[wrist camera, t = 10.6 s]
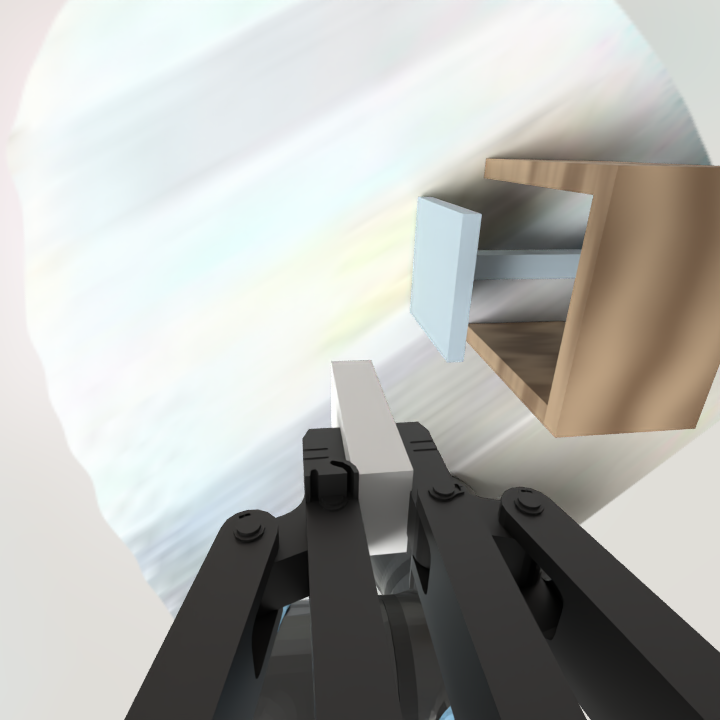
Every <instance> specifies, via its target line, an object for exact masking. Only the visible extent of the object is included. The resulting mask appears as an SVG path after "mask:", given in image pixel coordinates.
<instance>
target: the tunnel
mask: <svg viewBox="0 0 720 720" xmlns="http://www.w3.org/2000/svg"><path fill="white" fill-rule="evenodd" d="M484 178H487V179H494V180H500V181H507V182H513V183H520V184H526V185H533V186H539V187H546V188H552V189H559V190H565V191H572V192H578V193H585V194H591V195H593V200H592V204H591V209H590V214H589V218H588V223H587V227H586V232H585V236H584V241H583V246H582V250H581V255H580V259H579V264H578V269H577V273H576V278H575V282H574V287H573V291H572V296H571V301H570V305H569V310H568V314H567V319H566V323H565V322H564V321H552V322H518V323H483V324H468V329H467V337H466V341H467V342H468V343H469V344H470V345H471V347H472V348H473V349H474V350H475V351H476V352H477V353H478V354H479V355H480V356H481V357H482V359H483V360H484V361H485V362H486V363H487V364H488V365H489V366H490V367H491V368H492V369H493V371H494V372H495V373H496V374H497V375H498V376H499V377H500V378H501V379H502V380H503V381H504V383H505V384H506V385H507V386H508V387H509V388H510V389H511V390H512V391H513V392H514V393H515V395H516V396H517V397H518V398H519V399H520V400H521V401H522V402H523V403H524V404H525V405H526V407H527V408H528V409H529V410H530V411H531V412H532V413H533V414H534V415H535V416H536V417H537V419H538V420H539V421H540V422H541V423H542V424H543V425H544V426H545V427H546V428H547V429H548V431H549V432H550V433H551V434H552V435H553V436H554V437H555V438H557V437H573V436H588V435H603V434H619V433H634V432H650V431H665V430H680V429H695V427H696V425H697V422H698V420H699V417H700V414H701V412H702V409H703V406H704V404H705V401H706V399H707V396H708V393H709V391H710V388H711V385H712V383H713V380H714V377H715V375H716V372H717V370H718V367H719V364H720V166H710V165H686V164H662V163H637V162H613V161H580V160H533V159H486V165H485V174H484Z"/></svg>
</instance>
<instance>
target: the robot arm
mask: <svg viewBox="0 0 720 720" xmlns="http://www.w3.org/2000/svg"><path fill="white" fill-rule="evenodd" d="M331 425H332V428H320V429H309V430H308V431H307V433H306V434H305V436H304V437H303V466H304V490H305V495H304V499H303V501H302V503H301V504H300V505H299V506H298V507H297V508H296V509H294V510H293V511H291V512H290V513H287V514H285V515H283V516H280V517H277V518H275V517H274V516H272V515H271V514H269V513H268V512H265V511H261V510H246V511H243V512H240V513H237V514H235V515H233V516H232V517H230V518H229V519H227V520H226V522H225V523H224V524H223V526H222V527H221V528H220V530H219V532H218V534H217V536H216V538H215V540H214V542H213V544H212V546H211V548H210V550H209V552H208V554H207V556H206V558H205V560H204V562H203V564H202V566H201V568H200V570H199V572H198V574H197V576H196V578H195V580H194V582H193V584H192V586H191V588H190V590H189V592H188V594H187V596H186V598H185V600H184V602H183V604H182V606H181V608H180V610H179V612H178V614H177V616H176V618H175V620H174V622H173V624H172V626H171V628H170V630H169V632H168V634H167V636H166V638H165V640H164V642H163V644H162V646H161V648H160V650H159V652H158V654H157V656H156V658H155V660H154V662H153V664H152V666H151V668H150V670H149V672H148V674H147V676H146V678H145V680H144V682H143V684H142V686H141V688H140V690H139V692H138V694H137V696H136V698H135V700H134V702H133V704H132V706H131V708H130V710H129V712H128V714H127V715H126V718H125V719H124V720H587V719H586V717H585V715H584V713H583V711H582V709H583V710H584V711H585V713H586V714H587V715H588V717H589V718H590V719H591V720H720V652H719V651H718V650H716V649H715V648H714V647H713V646H712V645H711V644H710V643H709V642H708V641H706V640H705V639H704V638H703V637H702V636H701V635H700V634H699V633H697V631H695V630H694V629H693V628H692V627H691V626H690V625H689V624H688V623H687V622H685V621H684V620H683V619H682V618H681V617H680V616H679V615H678V614H677V613H676V612H674V611H673V610H672V609H671V608H670V607H669V606H668V605H667V604H666V603H665V602H663V601H662V600H661V599H660V598H659V597H658V596H657V595H656V594H655V593H653V592H652V591H651V590H650V589H649V588H648V587H647V586H646V585H645V584H643V583H642V582H641V581H640V580H639V579H638V578H637V577H636V576H635V575H634V574H632V573H631V572H630V571H629V570H628V569H627V568H626V567H625V566H624V565H623V564H621V563H620V562H619V561H618V560H617V559H616V558H615V557H614V556H613V555H612V554H610V553H609V552H608V551H607V550H606V549H605V548H604V547H603V546H602V545H600V544H599V543H598V542H597V541H596V540H595V539H594V538H593V537H591V535H589V534H588V533H587V532H586V531H585V530H584V529H583V528H582V527H581V526H580V525H578V524H577V523H576V522H575V521H574V520H573V519H572V518H571V517H570V516H568V515H567V514H566V513H565V512H564V511H563V510H562V509H561V508H560V507H559V506H557V505H556V504H555V503H554V502H553V501H552V500H551V499H550V498H548V497H547V496H545V495H544V494H542V493H541V492H539V491H536V490H533V489H531V488H524V487H516V488H510V489H509V490H507V491H505V492H504V493H503V495H502V497H501V500H494V499H488V498H482V497H478V496H477V495H476V493H475V492H474V491H473V489H472V488H471V487H469V486H468V485H467V484H466V483H464V482H463V481H461V480H459V479H457V478H454V477H452V476H451V475H450V473H449V471H448V469H447V467H446V465H445V463H444V461H443V459H442V457H441V455H440V453H439V451H438V450H437V447H436V445H435V443H434V442H433V439H432V437H431V435H430V433H429V431H428V430H427V429H426V428H425V427H424V426H422V425H421V424H420V423H419V422H405V423H395V421H394V418H393V416H392V413H391V411H390V408H389V405H388V403H387V400H386V398H385V395H384V392H383V390H382V387H381V385H380V382H379V379H378V377H377V374H376V372H375V369H374V366H373V364H372V361H371V360H360V361H334V362H331ZM376 586H377V588H378V589H379V591H380V592H381V594H382V595H378V593H377V588H376ZM308 596H309V600H301V599H303V598H306V597H308ZM578 703H579V704H578ZM580 706H581V707H582V709H581V707H580Z"/></svg>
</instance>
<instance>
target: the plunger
mask: <svg viewBox="0 0 720 720" xmlns="http://www.w3.org/2000/svg"><path fill="white" fill-rule="evenodd" d="M481 217H482V214H480V213H478V212H475V211H472V210H469V209H466V208H463V207H460V206H457V205H454V204H451V203H448V202H445V201H442V200H440V199H437V198H434V197H418V205H417V219H416V233H415V248H414V262H413V277H412V291H411V306H410V313H411V314H412V315H413V317H414V318H415V320H416V321H417V322H418V324H419V325H420V326H421V328H422V329H423V330H424V332H425V333H426V335H427V336H428V337H429V339H430V340H431V341H432V343H433V344H434V345H435V347H436V348H437V350H438V351H439V352H440V354H441V355H442V356H443V358H444V359H445V360H446V362H463V361H464V353H465V345H466V337H467V329H468V321H469V313H470V305H471V297H472V289H473V281H474V280H496V279H560V278H576V273H577V269H578V264H579V259H580V255H581V250H582V249H570V250H477V249H478V241H479V233H480V225H481Z"/></svg>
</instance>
